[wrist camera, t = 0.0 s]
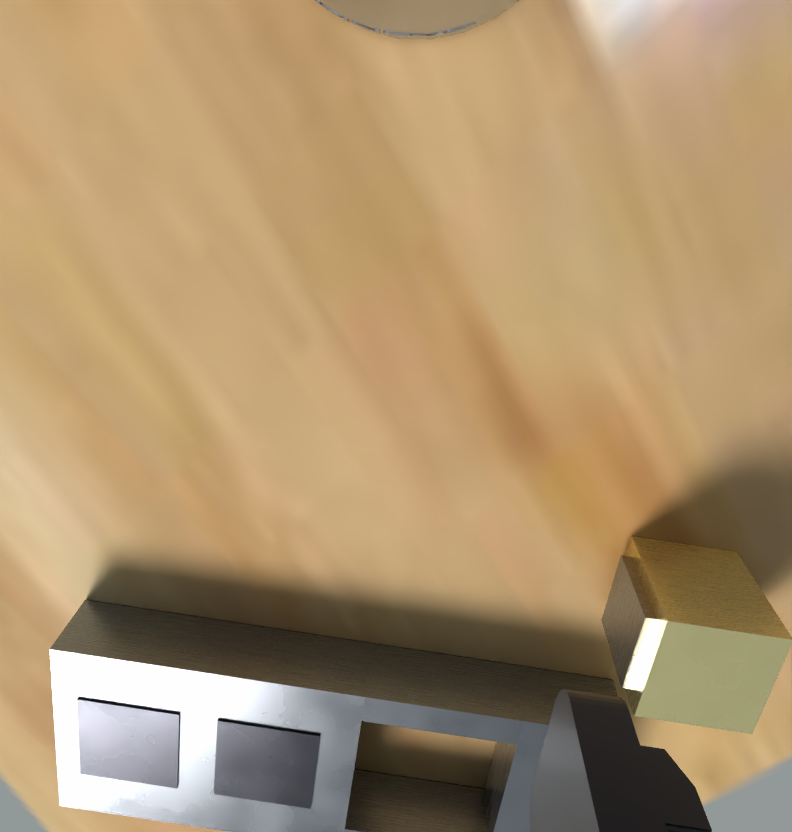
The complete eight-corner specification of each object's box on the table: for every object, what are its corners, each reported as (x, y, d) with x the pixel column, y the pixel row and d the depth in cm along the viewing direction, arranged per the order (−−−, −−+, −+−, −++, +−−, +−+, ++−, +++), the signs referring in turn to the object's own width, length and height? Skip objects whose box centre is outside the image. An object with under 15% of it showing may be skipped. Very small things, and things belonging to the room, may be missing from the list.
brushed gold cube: (620, 533, 28) (654, 619, 23) (747, 553, 28) (806, 641, 23) (594, 618, 30) (622, 714, 25) (714, 636, 29) (763, 735, 25)
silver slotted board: (85, 600, 31) (48, 650, 28) (612, 679, 31) (629, 739, 28) (91, 748, 34) (58, 807, 31) (566, 820, 34) (577, 887, 31)
